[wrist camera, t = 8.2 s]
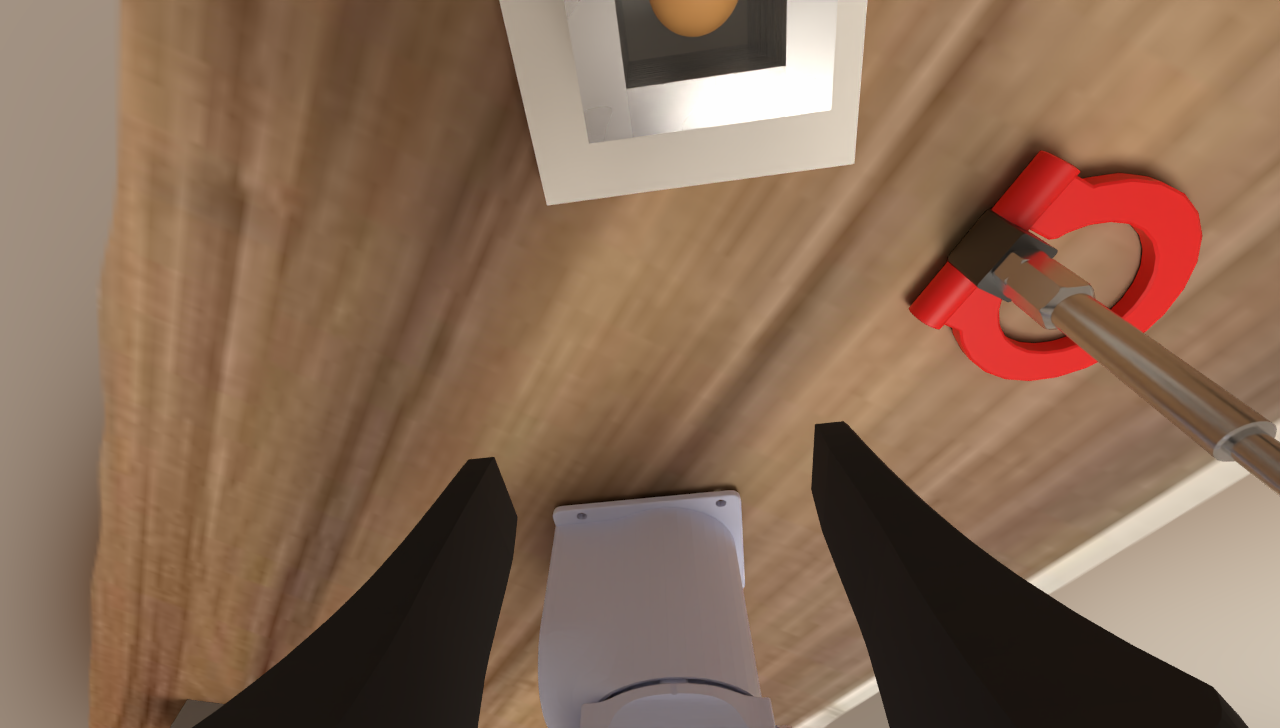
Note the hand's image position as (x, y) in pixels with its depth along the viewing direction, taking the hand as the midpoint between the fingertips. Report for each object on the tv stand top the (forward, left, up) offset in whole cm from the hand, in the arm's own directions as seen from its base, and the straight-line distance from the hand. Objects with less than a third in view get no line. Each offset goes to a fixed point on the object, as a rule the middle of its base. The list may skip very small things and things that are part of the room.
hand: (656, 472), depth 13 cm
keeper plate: (+2, +9, -10) cm, 14 cm away
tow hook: (+15, -2, -11) cm, 19 cm away
